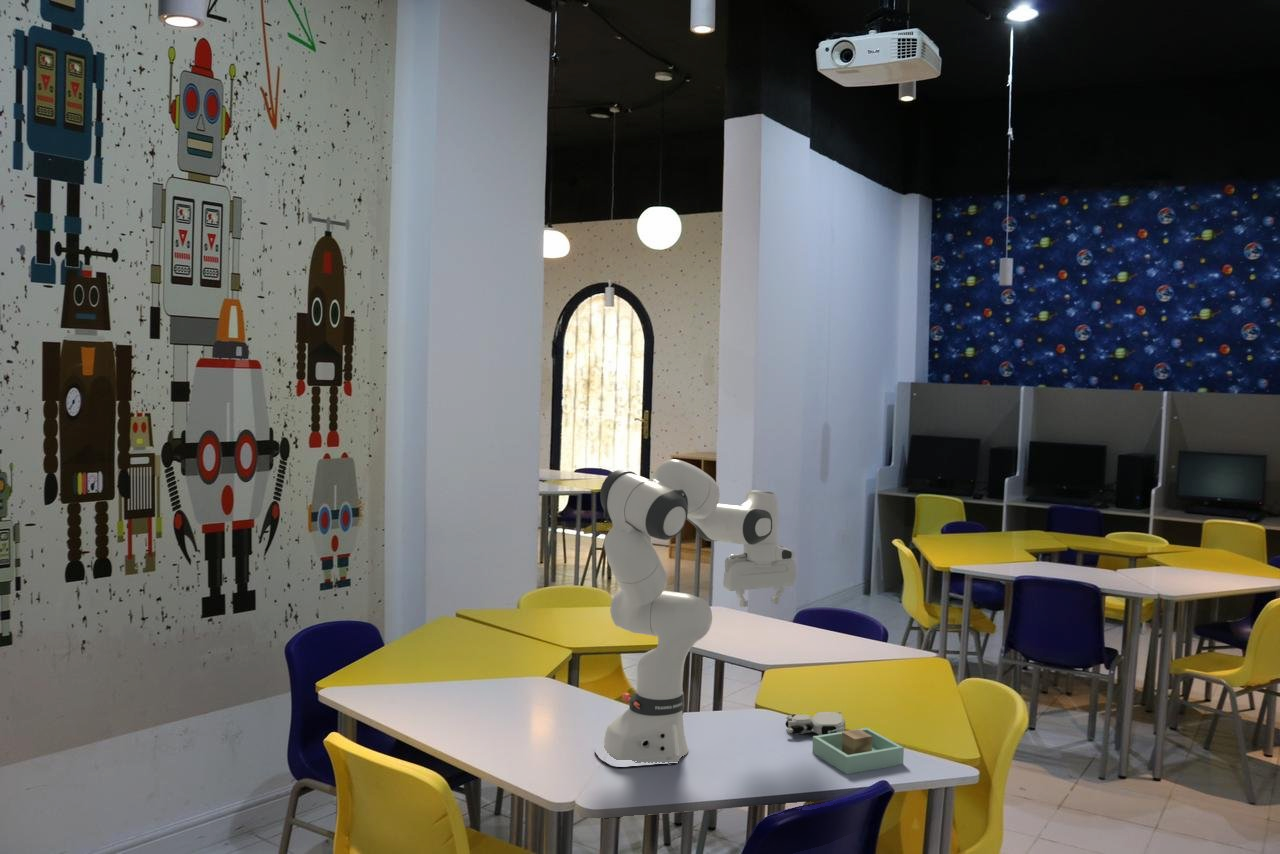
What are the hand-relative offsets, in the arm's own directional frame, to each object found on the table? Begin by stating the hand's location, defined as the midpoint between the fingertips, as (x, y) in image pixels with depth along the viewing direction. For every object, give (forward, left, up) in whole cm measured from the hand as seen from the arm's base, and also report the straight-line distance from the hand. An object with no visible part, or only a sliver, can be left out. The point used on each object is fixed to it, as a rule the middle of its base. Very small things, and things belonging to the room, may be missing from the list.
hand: (759, 605), depth 263 cm
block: (+10, -30, -30) cm, 44 cm away
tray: (+10, -30, -31) cm, 44 cm away
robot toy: (+10, -12, -32) cm, 35 cm away
